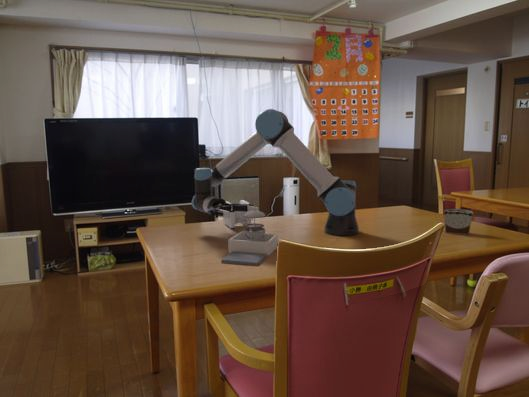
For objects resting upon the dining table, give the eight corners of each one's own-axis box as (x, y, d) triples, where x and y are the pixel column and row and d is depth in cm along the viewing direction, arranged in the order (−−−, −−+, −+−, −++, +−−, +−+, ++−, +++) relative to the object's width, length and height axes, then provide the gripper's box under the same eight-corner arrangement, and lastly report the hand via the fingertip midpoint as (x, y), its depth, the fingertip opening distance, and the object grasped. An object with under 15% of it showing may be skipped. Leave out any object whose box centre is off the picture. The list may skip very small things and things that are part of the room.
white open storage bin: (278, 246, 166) (278, 234, 165) (268, 256, 153) (268, 242, 152) (241, 244, 170) (241, 231, 170) (228, 252, 158) (228, 239, 157)
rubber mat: (267, 256, 152) (267, 253, 152) (257, 265, 142) (257, 262, 142) (233, 253, 156) (233, 251, 156) (221, 262, 146) (221, 259, 146)
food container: (472, 232, 188) (473, 209, 186) (472, 235, 182) (474, 212, 181) (442, 229, 193) (443, 207, 192) (441, 232, 188) (442, 210, 186)
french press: (247, 255, 154) (246, 186, 151) (236, 247, 165) (235, 183, 161) (272, 252, 158) (271, 185, 155) (259, 244, 169) (259, 182, 165)
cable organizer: (252, 228, 200) (251, 203, 198) (230, 230, 196) (229, 205, 195) (243, 222, 214) (242, 199, 212) (222, 223, 210) (222, 200, 209)
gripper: (239, 211, 189) (269, 218, 172) (189, 218, 174) (215, 226, 157) (239, 194, 188) (268, 200, 171) (188, 200, 173) (215, 206, 156)
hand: (243, 213), depth 164 cm, fingers open, 13 cm apart
